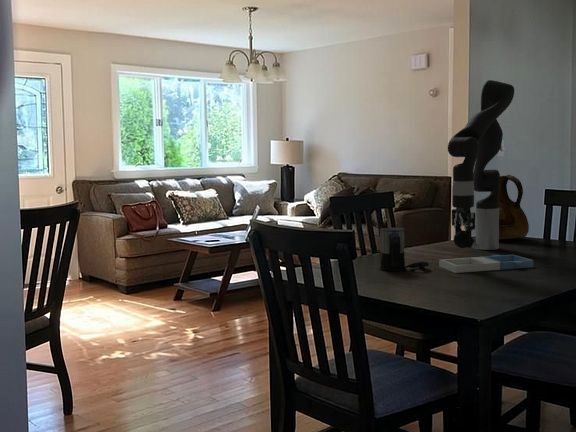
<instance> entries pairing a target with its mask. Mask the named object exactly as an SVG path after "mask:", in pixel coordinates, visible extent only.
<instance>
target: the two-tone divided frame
mask: <svg viewBox="0 0 576 432" xmlns="http://www.w3.org/2000/svg"><path fill="white" fill-rule="evenodd" d="M438 262H439V263H438V266H439V268H442V269H445V270H447V271H449V272H452V273H455V274H458V273H472V272H474V273H475V272H484V271H485V272H486V271H488V272H489V271H499V270H500V271H501V270H502V271H503V270H511V269H512V270H514V269H527V268H534V260H533V259H531V258H526V257H524V256H523V257H522V256H520V255H518V254H517V255H516V254H506V255H501V254H491V256H490V255H489V256H488V255H487V256H475V257H473V256H472V257H462V258H459V257H458V258H447V259H446V258H445V259H443V258H442V259H438Z"/></svg>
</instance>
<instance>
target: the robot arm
mask: <svg viewBox="0 0 576 432" xmlns="http://www.w3.org/2000/svg"><path fill="white" fill-rule="evenodd" d="M514 97H515V87H514V86H513V85H512V84H510V83H506V82H502V81H498V80H492V79H490V80H489V79H488V80H487V81H485V82H484V83H483V87H482V90H481V95H480V111H479V112H477V113H475V114H474V115H473V116H472V117H471V118H470V119H469V121H468V122H467V123H466V125H465V126H464V128H462V129H461V130H459V131H458V132H457V133H455V134H454V135H453V136H452V137H451V138H450V139H449V142H448V143H447V152H448V154H449V155H450V156H451V157H453V158H464V159H463V160H462V162H461V163H459V164H458V163H457V164H455V165H454V166H453V169H452V185H451V197H452V198H451V201H452V202H451V203H452V204H451V205H452V207H453V209H451V226H453V228H454V235H455V234H456V233H457V232H458V231H461V230H464V231H465V241H466V242H469V241H471V236H472V231H475V242H476V243H478V244H480V247H479V248H478V249H477V250H482V251H483V250H484V251H485V250H486V251H492V250H493V251H495V250H498V249H500V239H499V190H500V176H501V174H500V172H499V170H498V169H485V168H486V166H487V165H488V164H489V163H490V161H492V160H493V158H495V157H496V156H497V154H498V153H499V152H500V150H501V147H502V143H503V138H504V137H503V128H502V126H501V125H500V123H499V121H498V118H499V117H500V116H501V115H502V114H503V113H504V112H505V111H506V110H507V109H508V108H509V106H510V105H511V103H512V101H513V99H514ZM475 192H476V193H477V192H478V193H480V192H481V193H488V192H489V193H490V194H489V195H488V196H487V197H484V198H483V199H480V200H477V201H476V205H475ZM474 207H476V209H475V212H472V211H471V209H472V208H474ZM462 227H463V229H462Z"/></svg>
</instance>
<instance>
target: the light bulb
mask: <svg viewBox="0 0 576 432" xmlns="http://www.w3.org/2000/svg"><path fill="white" fill-rule="evenodd" d="M453 243H454V245H455V246H456V247H458V248H460V249H466V248H468V249H470V248H473V249H475V250H479V249H478V248H479V247H480V244H478V243H476V241H475V239H474V238H473V237H472V235H471V241H469V242H466V241H465V229H462V230H461V231H458V232H457V233H456V234H455V233H454V236H453Z"/></svg>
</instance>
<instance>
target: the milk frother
mask: <svg viewBox="0 0 576 432" xmlns="http://www.w3.org/2000/svg"><path fill="white" fill-rule="evenodd" d="M405 230H406V228H404V227H381V228H379V232H380V233H379V235H380V236H379V237H380V239H379V240H380V244H379V245H380V246H379V247H380V268H379V269H380V270H382V271H390V272H391V271H397V272H398V271H405V270H406V269H407V268H409V269H417V268H419V270H423V269H425V267H428V266H429V265H430V264H429V262H427V261H418V262H413V263H410V264H408V265H405V264H406V263H405V262H406V260H405Z"/></svg>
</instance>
